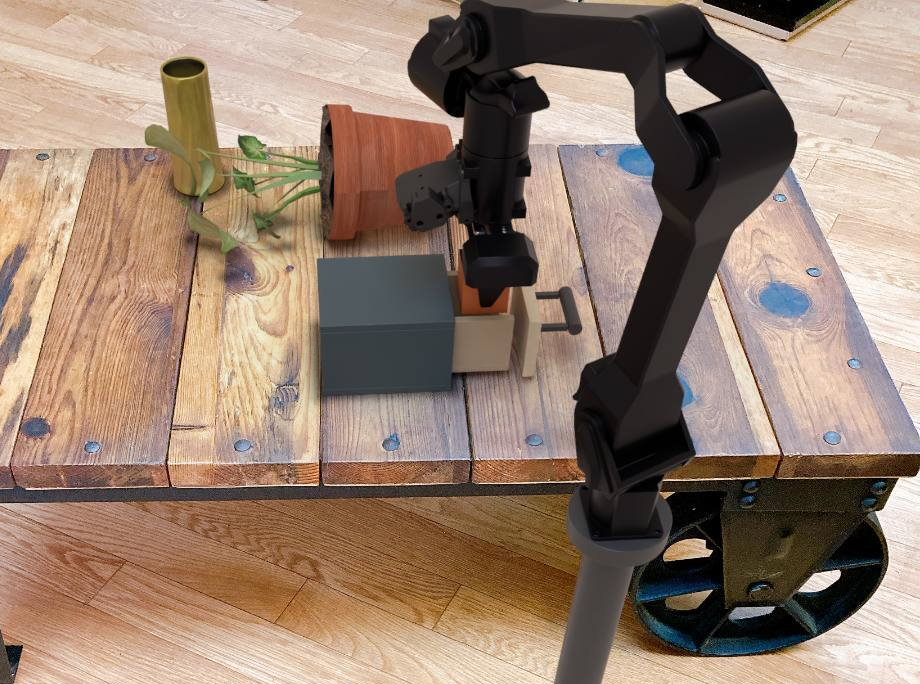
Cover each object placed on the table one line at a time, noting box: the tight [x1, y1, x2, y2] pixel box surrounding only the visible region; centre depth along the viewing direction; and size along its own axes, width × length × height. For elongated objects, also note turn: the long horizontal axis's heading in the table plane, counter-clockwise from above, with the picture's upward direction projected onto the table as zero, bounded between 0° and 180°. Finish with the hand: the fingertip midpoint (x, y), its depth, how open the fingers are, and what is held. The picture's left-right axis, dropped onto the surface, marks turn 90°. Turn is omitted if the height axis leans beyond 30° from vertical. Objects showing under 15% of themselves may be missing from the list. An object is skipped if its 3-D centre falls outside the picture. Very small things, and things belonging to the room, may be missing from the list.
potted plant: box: [144, 103, 454, 255], centre depth 121 cm, size 16×15×35 cm
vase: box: [159, 55, 226, 197], centre depth 127 cm, size 6×6×14 cm
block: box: [457, 251, 511, 315], centre depth 106 cm, size 4×4×4 cm
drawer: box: [447, 270, 584, 378], centre depth 109 cm, size 16×9×7 cm, turn 94°
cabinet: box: [316, 253, 455, 397], centre depth 109 cm, size 13×11×9 cm
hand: (482, 291), depth 106 cm, fingers closed on block, 4 cm apart
